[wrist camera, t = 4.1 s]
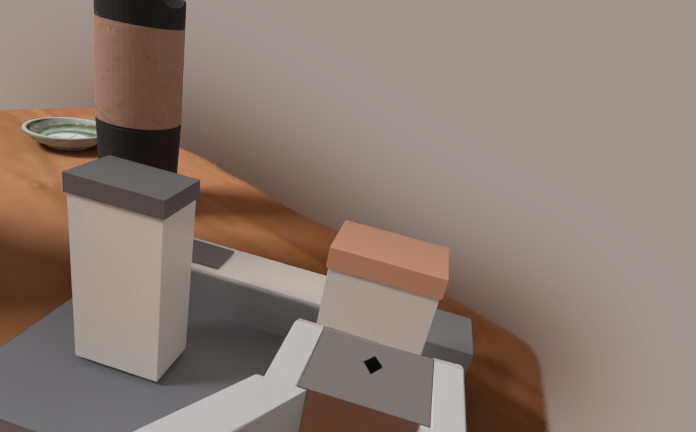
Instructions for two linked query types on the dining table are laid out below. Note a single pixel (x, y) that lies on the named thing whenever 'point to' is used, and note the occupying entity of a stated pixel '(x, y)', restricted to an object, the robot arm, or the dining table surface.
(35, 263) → the dining table surface
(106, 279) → the charcoal key
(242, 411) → the robot arm
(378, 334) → the terracotta key
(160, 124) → the travel mug
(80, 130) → the saucer
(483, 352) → the dining table surface
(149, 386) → the key console
